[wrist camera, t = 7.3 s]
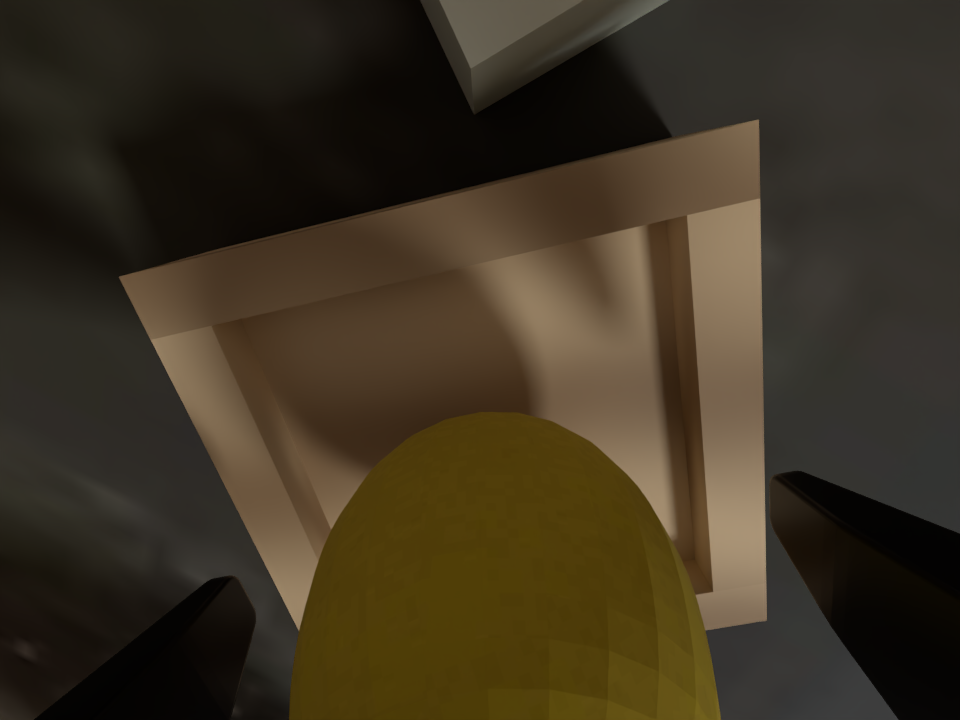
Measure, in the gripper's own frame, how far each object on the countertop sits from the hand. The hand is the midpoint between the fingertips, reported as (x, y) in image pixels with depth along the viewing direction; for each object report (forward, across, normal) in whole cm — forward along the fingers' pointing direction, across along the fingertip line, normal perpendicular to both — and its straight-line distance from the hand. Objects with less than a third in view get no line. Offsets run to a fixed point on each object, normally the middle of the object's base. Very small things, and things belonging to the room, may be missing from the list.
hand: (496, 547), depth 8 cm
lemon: (+3, 0, 0) cm, 3 cm away
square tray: (+6, 0, 0) cm, 6 cm away
